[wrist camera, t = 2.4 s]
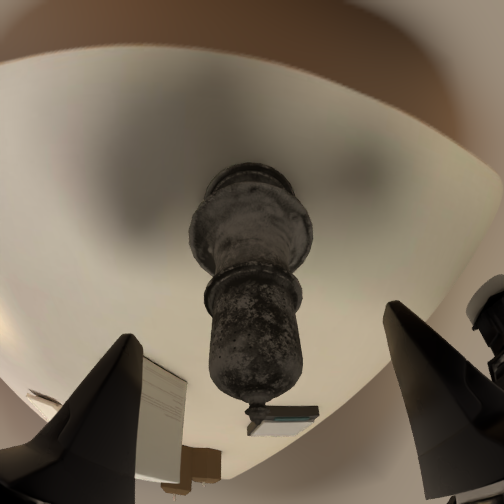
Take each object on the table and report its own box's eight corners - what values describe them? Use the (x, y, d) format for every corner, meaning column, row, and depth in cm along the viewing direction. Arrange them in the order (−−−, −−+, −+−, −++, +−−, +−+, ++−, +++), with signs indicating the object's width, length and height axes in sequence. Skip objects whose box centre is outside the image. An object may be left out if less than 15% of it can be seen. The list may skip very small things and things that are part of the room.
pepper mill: (319, 187, 15) (412, 388, 6) (268, 260, 18) (287, 450, 9) (225, 139, 13) (179, 345, 4) (184, 225, 17) (132, 426, 7)
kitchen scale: (264, 405, 33) (265, 419, 32) (318, 406, 34) (320, 418, 33) (247, 427, 40) (247, 438, 38) (292, 428, 41) (293, 438, 39)
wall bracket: (38, 372, 43) (83, 427, 57) (22, 392, 37) (72, 444, 50) (66, 390, 42) (109, 442, 55) (49, 414, 35) (98, 460, 49)
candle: (151, 445, 53) (146, 496, 41) (179, 441, 47) (175, 501, 35) (195, 456, 59) (193, 503, 47) (227, 452, 53) (227, 505, 41)
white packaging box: (105, 366, 27) (82, 461, 17) (140, 352, 25) (118, 469, 15) (150, 392, 31) (137, 480, 21) (190, 383, 29) (181, 485, 19)
